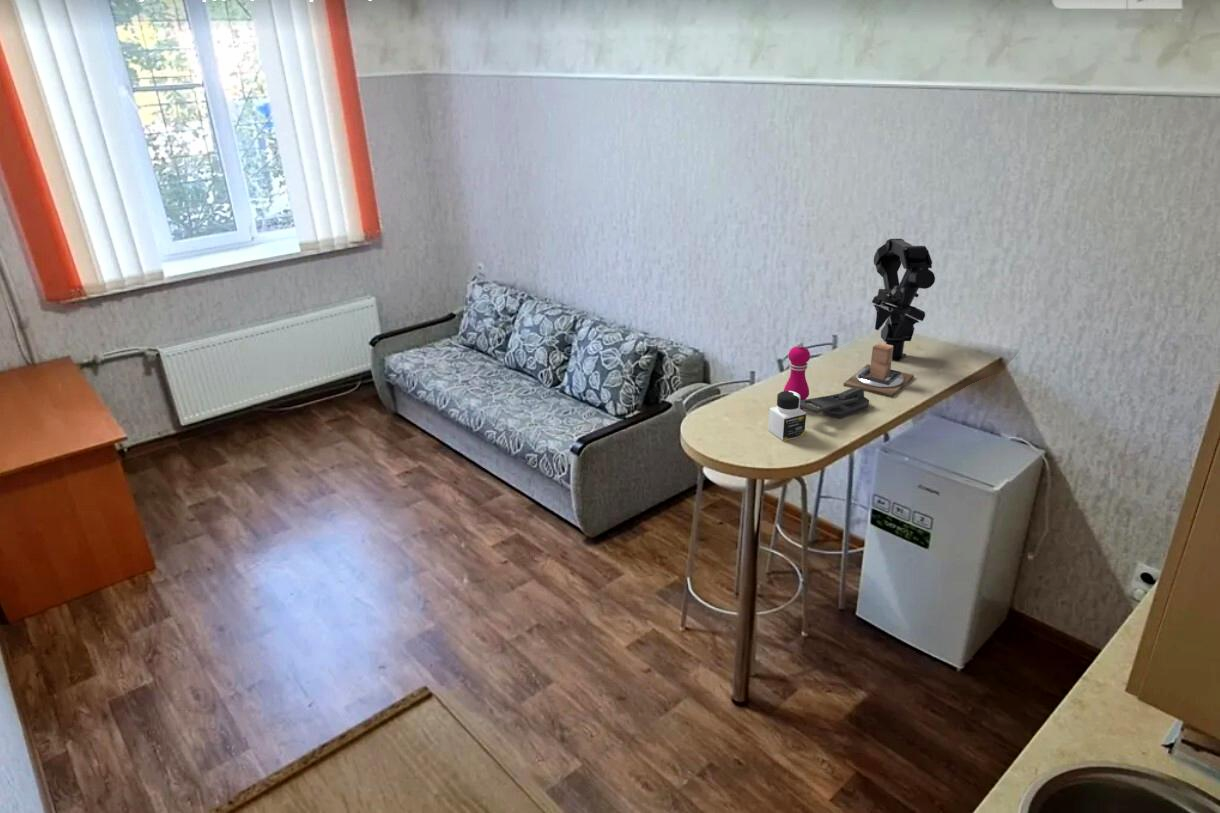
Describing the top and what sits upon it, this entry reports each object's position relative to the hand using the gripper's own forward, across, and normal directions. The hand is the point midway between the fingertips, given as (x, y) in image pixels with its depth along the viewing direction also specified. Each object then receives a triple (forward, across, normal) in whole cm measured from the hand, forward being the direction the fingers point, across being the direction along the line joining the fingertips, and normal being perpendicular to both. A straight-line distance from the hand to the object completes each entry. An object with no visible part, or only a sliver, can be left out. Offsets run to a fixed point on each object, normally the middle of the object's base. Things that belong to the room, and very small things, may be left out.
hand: (885, 333), depth 241 cm
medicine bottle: (+36, +24, -36) cm, 56 cm away
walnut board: (+14, +5, +2) cm, 15 cm away
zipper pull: (+28, +18, -20) cm, 39 cm away
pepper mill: (+30, +10, -26) cm, 41 cm away
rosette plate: (+14, +5, +2) cm, 15 cm away
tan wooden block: (+13, +5, +1) cm, 14 cm away
